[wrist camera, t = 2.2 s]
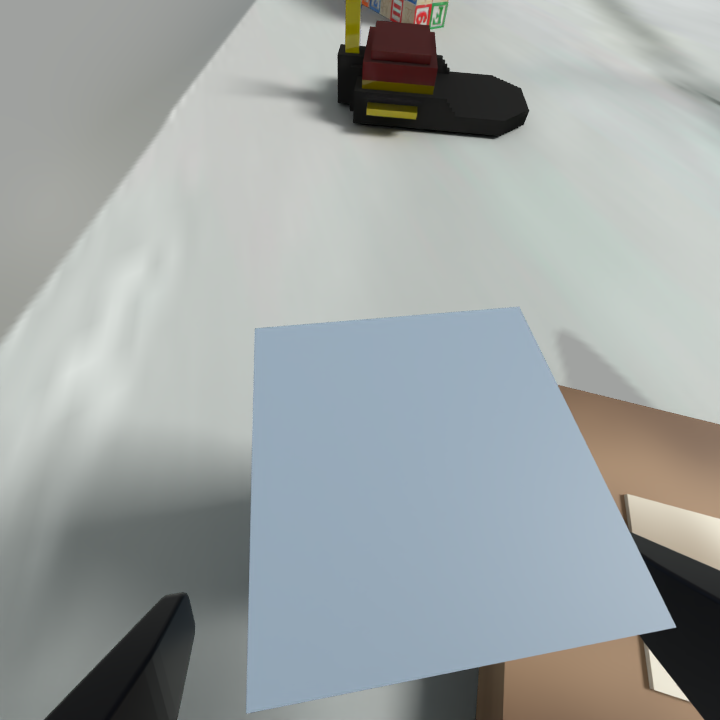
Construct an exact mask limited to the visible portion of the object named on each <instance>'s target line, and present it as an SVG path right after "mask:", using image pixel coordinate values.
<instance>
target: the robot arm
mask: <svg viewBox="0 0 720 720" xmlns="http://www.w3.org/2000/svg"><path fill="white" fill-rule="evenodd" d="M629 532H630V531H629ZM630 534H631V536H632V538H633V540H634V542H635V544H636V546H637V548H638V550H639V552H640V554H641V556H642V558H643V560H644V562H645V564H646V566H647V568H648V570H649V572H650V574H651V576H652V579H653V581H654V583H655V585H656V587H657V589H658V591H659V593H660V595H661V597H662V599H663V601H664V603H665V605H666V607H667V609H668V611H669V613H670V615H671V617H672V619H673V621H674V623H675V625H676V628H671V629H666V630H661V631H656V632H651V633H646V634H641V635H639V636H640V637H641V639H642V640H643V642H644V643H645V644H646V646H647V647H648V648H649V650H650V651H651V652H652V654H653V655H654V656H655V657H656V659H657V660H658V661H659V663H660V664H661V665H662V666H663V668H664V669H665V670H666V672H667V673H668V674H669V675H670V677H671V678H672V679H673V680H674V682H675V683H676V684H677V686H678V687H679V688H680V689H681V691H682V692H683V693H684V695H685V696H686V697H687V698H688V700H689V701H690V702H691V704H692V705H693V706H694V707H695V709H696V710H697V711H698V713H699V714H700V715H701V716H702V718H703V719H704V720H720V570H718V569H716V568H713V567H711V566H709V565H706V564H704V563H702V562H699V561H697V560H695V559H692V558H690V557H688V556H685V555H683V554H681V553H679V552H676V551H674V550H672V549H669V548H667V547H665V546H662V545H660V544H658V543H655V542H653V541H651V540H648V539H646V538H644V537H641V536H639V535H637V534H635V533H632V532H630ZM194 635H195V622H194V618H193V613H192V609H191V604H190V600H189V596H188V595H187V593H184V592H182V593H176V594H169V595H166V596H164V597H163V598H162V599H161V600H160V601H159V602H158V603H157V604H156V605H155V606H154V607H153V608H152V609H151V610H150V611H149V612H148V613H147V614H146V615H145V616H144V617H143V618H142V619H141V620H140V621H139V622H138V623H137V624H136V625H135V626H134V627H133V628H132V629H131V630H130V631H129V633H128V634H127V635H126V636H125V637H124V638H123V639H122V640H121V641H120V642H119V643H118V644H117V645H116V646H115V647H114V648H113V649H112V650H111V651H110V652H109V653H108V654H107V655H106V656H105V657H104V658H103V659H102V660H101V661H100V662H99V663H98V664H97V665H96V667H95V668H94V669H93V670H92V671H91V672H90V673H89V674H88V675H87V676H86V677H85V678H84V679H83V680H82V681H81V682H80V683H79V684H78V685H77V686H76V687H75V688H74V689H73V690H72V691H71V692H70V693H69V694H68V695H67V696H66V697H65V698H64V700H63V701H62V702H61V703H60V704H59V705H58V706H57V707H56V708H55V709H54V710H53V711H52V712H51V713H50V714H49V715H48V716H47V717H46V718H45V719H44V720H177V718H178V713H179V708H180V703H181V699H182V694H183V689H184V684H185V679H186V674H187V670H188V665H189V660H190V655H191V650H192V645H193V641H194Z"/></svg>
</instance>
